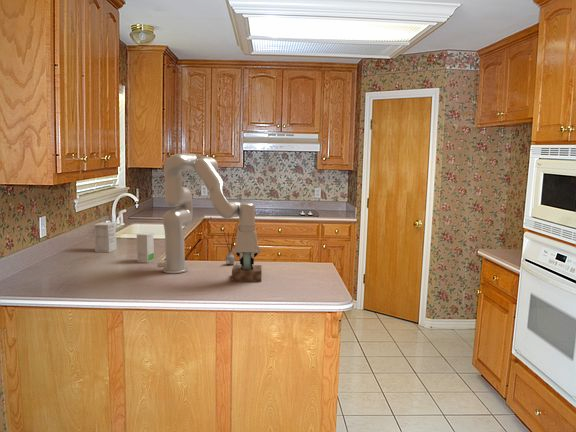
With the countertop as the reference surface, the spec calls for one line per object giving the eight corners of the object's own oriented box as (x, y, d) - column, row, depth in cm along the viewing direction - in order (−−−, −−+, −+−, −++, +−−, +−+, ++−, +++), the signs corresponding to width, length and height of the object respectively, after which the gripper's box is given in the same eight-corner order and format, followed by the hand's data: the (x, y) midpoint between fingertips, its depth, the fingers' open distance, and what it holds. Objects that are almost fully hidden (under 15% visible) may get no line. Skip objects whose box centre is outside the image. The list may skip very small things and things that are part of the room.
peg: (242, 273, 245) (242, 252, 243) (243, 271, 249) (242, 251, 247) (251, 273, 245) (251, 252, 243) (251, 271, 249) (251, 251, 247)
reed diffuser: (220, 264, 274) (220, 228, 271) (226, 262, 280) (226, 226, 278) (237, 266, 270) (237, 229, 268) (243, 263, 277) (243, 227, 274)
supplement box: (117, 249, 311) (116, 222, 309) (109, 252, 302) (108, 224, 300) (102, 249, 312) (101, 221, 310) (94, 252, 303) (93, 224, 301)
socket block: (231, 281, 241) (231, 271, 240) (233, 275, 253) (233, 265, 252) (261, 281, 242) (261, 271, 241) (261, 275, 253) (261, 265, 253)
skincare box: (147, 263, 276) (146, 234, 274) (136, 262, 278) (135, 234, 275) (154, 259, 284) (154, 232, 282) (143, 259, 286) (143, 231, 284)
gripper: (228, 229, 240) (229, 267, 242) (264, 230, 241) (264, 267, 243) (229, 227, 247) (230, 264, 250) (264, 227, 248) (264, 264, 250)
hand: (246, 265), depth 246 cm, fingers closed on peg, 4 cm apart
